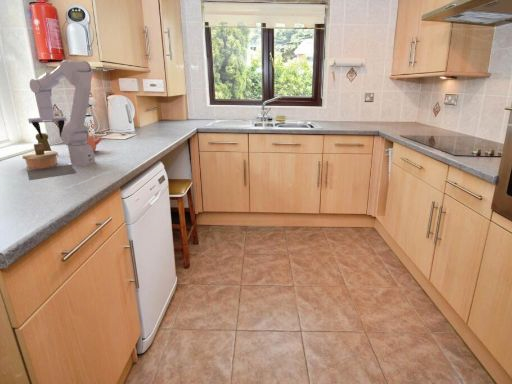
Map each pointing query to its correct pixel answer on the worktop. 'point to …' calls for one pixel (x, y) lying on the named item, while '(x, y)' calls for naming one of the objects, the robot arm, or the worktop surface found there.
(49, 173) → the mat
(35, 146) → the lid
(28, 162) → the bowl
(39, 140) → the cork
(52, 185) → the worktop surface
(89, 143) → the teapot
